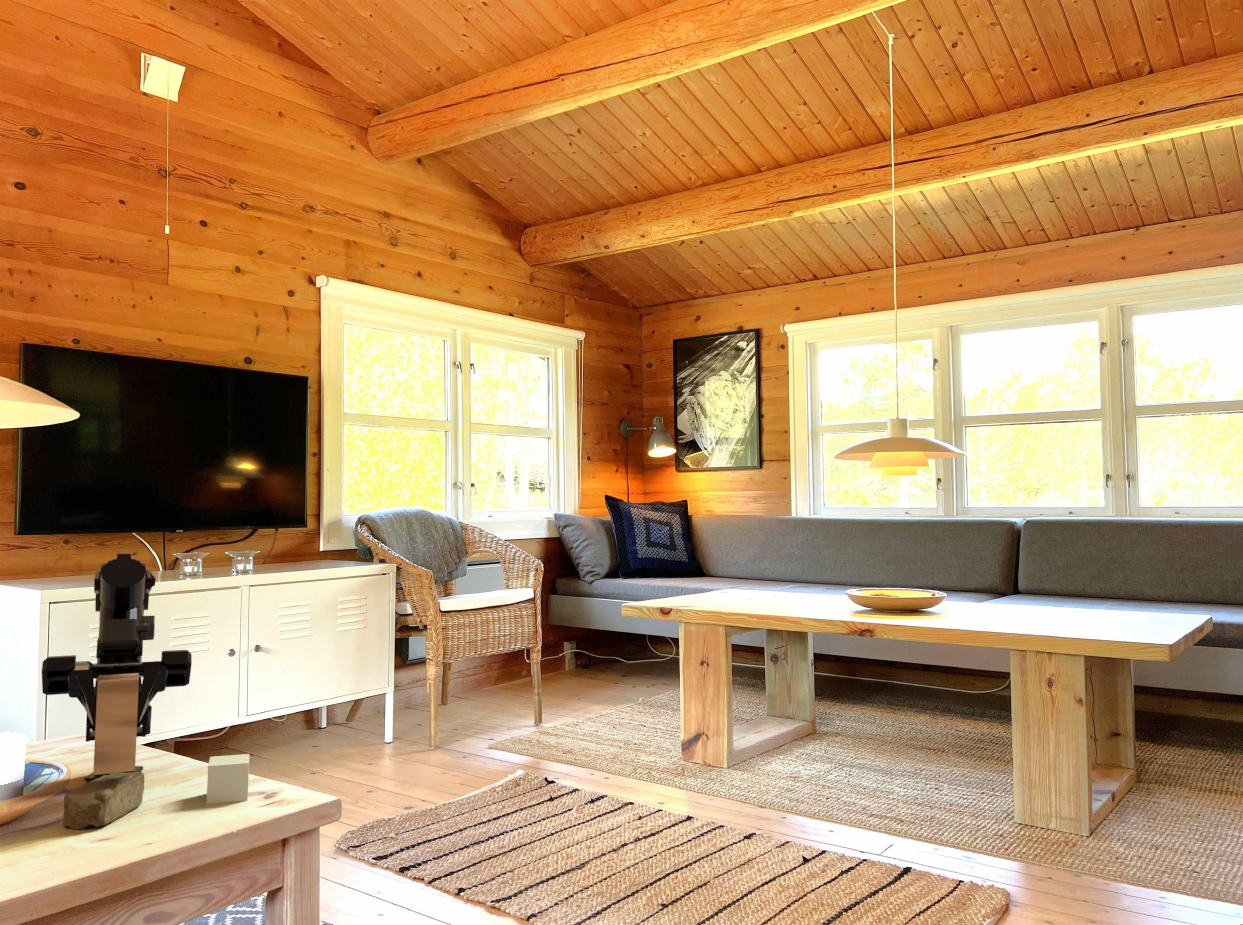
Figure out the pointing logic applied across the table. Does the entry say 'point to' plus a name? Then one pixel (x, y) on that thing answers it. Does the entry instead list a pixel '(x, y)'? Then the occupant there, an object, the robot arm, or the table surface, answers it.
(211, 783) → the sage cube
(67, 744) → the table surface
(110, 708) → the oak pillar
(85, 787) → the stone block
